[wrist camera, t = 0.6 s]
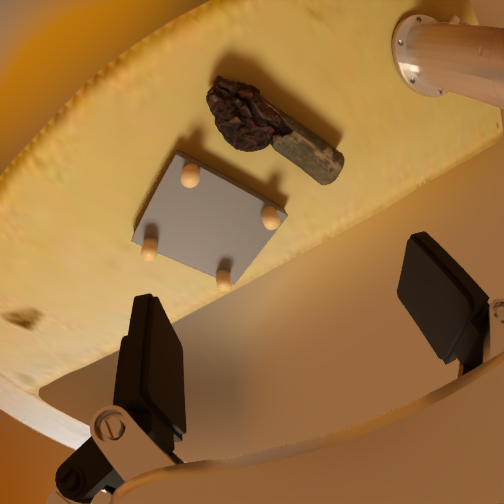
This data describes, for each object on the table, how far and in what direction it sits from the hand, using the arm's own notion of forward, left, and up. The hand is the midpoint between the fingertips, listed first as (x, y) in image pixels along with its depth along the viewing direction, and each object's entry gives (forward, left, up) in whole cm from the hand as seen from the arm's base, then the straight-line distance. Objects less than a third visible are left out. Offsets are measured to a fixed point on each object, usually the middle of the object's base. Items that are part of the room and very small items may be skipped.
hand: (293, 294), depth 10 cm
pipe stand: (+11, +4, -28) cm, 30 cm away
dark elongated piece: (-3, +4, -28) cm, 28 cm away
